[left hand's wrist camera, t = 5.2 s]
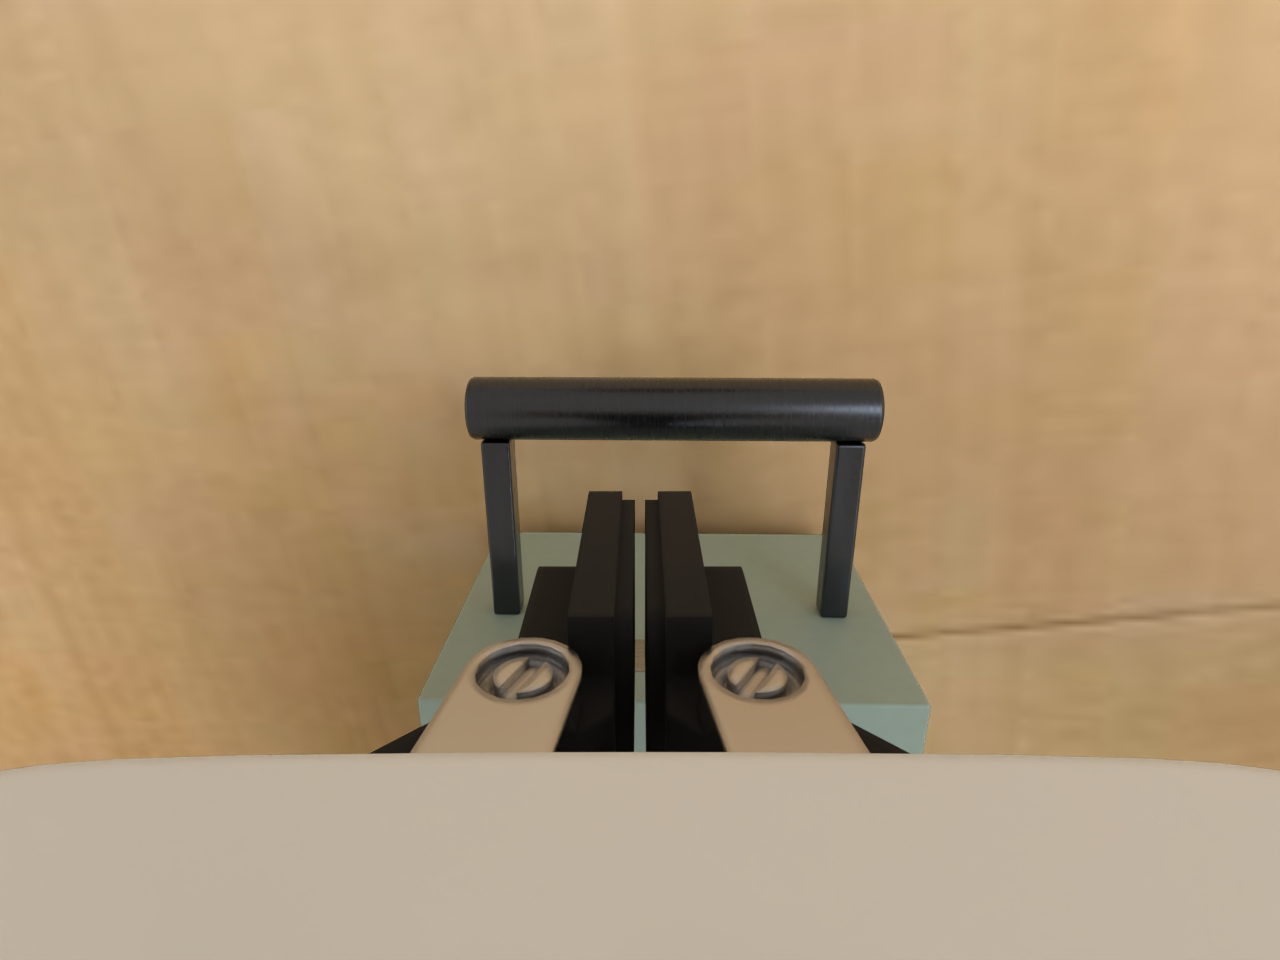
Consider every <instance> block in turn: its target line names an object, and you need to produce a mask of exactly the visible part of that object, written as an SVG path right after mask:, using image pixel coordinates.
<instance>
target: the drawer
mask: <svg viewBox="0 0 1280 960" xmlns="http://www.w3.org/2000/svg"><path fill="white" fill-rule="evenodd" d="M884 407H885V406H884V395H883V390H882V387H881V384H880V382H879V381H878V380H875V379H826V378H596V377H473V378H471V379H470V380H469V382H468V385H467V388H466V393H465V420H466V426H467V429H468V432H469V435H470V436H471V437H472V438H474V439H484V440H483V441H482V443H481V451H482V464H483V477H484V489H485V502H486V515H487V528H488V541H489V553H488V556H487V558H486V560H485V562H484V564H483V566H482V568H481V570H480V572H479V574H478V576H477V578H476V580H475V582H474V584H473V586H472V589H471V591H470V593H469V595H468V597H467V599H466V601H465V603H464V605H463V607H462V609H461V611H460V613H459V615H458V617H457V619H456V622H455V624H454V626H453V628H452V630H451V632H450V634H449V636H448V638H447V640H446V642H445V644H444V646H443V648H442V650H441V652H440V654H439V657H438V659H437V661H436V663H435V665H434V667H433V669H432V671H431V673H430V675H429V677H428V679H427V681H426V683H425V685H424V687H423V690H422V692H421V694H420V696H419V698H418V706H419V714H420V722H421V726H423V725H425V724H427V723H429V722H430V720H431V719H432V717H433V716H434V714H435V713H436V711H437V709H438V708H439V706H440V705H441V703H442V702H443V700H444V698H445V697H446V695H447V694H448V692H449V690H450V689H451V687H452V686H453V684H454V683H455V681H456V679H457V678H458V676H459V675H460V673H461V672H462V670H463V668H464V667H465V665H466V664H467V663H468V662H469V661H470V660H471V659H472V657H473V656H474V655H475V654H477V653H479V652H480V651H482V650H483V649H485V648H487V647H488V646H491V645H494V644H497V643H499V642H502V641H505V640H511V639H517V638H518V637H519V633H520V630H521V626H522V623H523V619H524V615H525V612H526V608H527V605H528V601H529V598H530V594H531V590H532V587H533V583H534V580H535V576H536V572H537V569H538V567H539V566H576V563H577V558H578V552H579V546H580V541H581V535H582V533H568V532H520V524H519V508H518V492H517V476H516V460H515V443H514V440H671V441H831V447H830V458H829V469H828V480H827V490H826V501H825V512H824V522H823V533H822V535H804V534H698V535H699V541H700V546H701V552H702V558H703V563H704V566H741V567H742V569H743V572H744V576H745V580H746V583H747V587H748V590H749V594H750V598H751V601H752V605H753V608H754V612H755V615H756V619H757V623H758V626H759V630H760V633H761V637H762V638H763V639H769V640H775V641H778V642H781V643H783V644H786V645H789V646H792V647H793V648H795V649H797V650H798V651H800V652H801V653H803V654H805V655H806V656H807V657H808V659H809V660H810V661H811V662H812V663H813V664H814V665H815V667H816V668H817V670H818V672H819V673H820V675H821V676H822V678H823V679H824V681H825V683H826V684H827V686H828V687H829V689H830V690H831V692H832V694H833V695H834V697H835V698H836V700H837V702H838V703H839V705H840V706H841V708H842V709H843V711H844V713H845V714H846V716H847V717H848V719H849V720H850V722H851V723H853V724H855V725H857V726H859V727H860V728H862V729H864V730H866V731H868V732H870V733H872V734H874V735H876V736H878V737H880V738H882V739H883V740H885V741H887V742H889V743H891V744H893V745H895V746H897V747H899V748H901V749H903V750H905V751H907V752H908V753H910V754H923V751H924V745H925V739H926V732H927V726H928V720H929V714H930V708H931V706H930V704H929V702H928V700H927V698H926V696H925V695H924V693H923V691H922V689H921V687H920V685H919V684H918V682H917V680H916V678H915V676H914V675H913V673H912V671H911V669H910V667H909V665H908V664H907V662H906V660H905V658H904V656H903V655H902V653H901V651H900V649H899V647H898V645H897V644H896V642H895V640H894V638H893V636H892V635H891V633H890V631H889V629H888V627H887V626H886V624H885V622H884V620H883V618H882V616H881V615H880V613H879V611H878V609H877V607H876V606H875V604H874V602H873V600H872V598H871V596H870V595H869V593H868V591H867V589H866V587H865V586H864V584H863V582H862V580H861V578H860V576H859V575H858V573H857V571H856V569H855V567H854V566H853V556H854V547H855V538H856V529H857V520H858V511H859V502H860V493H861V484H862V475H863V466H864V457H865V448H866V447H865V444H864V443H863V442H872V441H874V440H876V439H877V438H878V437H879V435H880V432H881V429H882V425H883V420H884ZM634 752H646V721H645V533H635V721H634Z"/></svg>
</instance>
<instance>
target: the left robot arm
mask: <svg viewBox="0 0 1280 960" xmlns="http://www.w3.org/2000/svg"><path fill="white" fill-rule="evenodd" d="M634 721H635V500H622V491H589V495H588V501H587V506H586V512H585V518H584V524H583V529H582V535H581V541H580V546H579V552H578V558H577V563H576V566H539V567H538V569H537V572H536V576H535V580H534V583H533V587H532V590H531V594H530V598H529V601H528V605H527V608H526V612H525V615H524V619H523V623H522V626H521V630H520V633H519V637H518V638H517V639H511V640H505V641H502V642H499V643H497V644H494V645H491V646H488V647H487V648H485V649H483V650H482V651H480V652H479V653H477V654H475V655H474V656H473V657H472V659H471V660H470V661H469V662H468V663H467V664H466V665H465V667H464V668H463V670H462V672H461V673H460V675H459V676H458V678H457V679H456V681H455V683H454V684H453V686H452V687H451V689H450V690H449V692H448V694H447V695H446V697H445V698H444V700H443V702H442V703H441V705H440V706H439V708H438V709H437V711H436V713H435V714H434V716H433V717H432V719H431V720H430V722H429V723H427V724H425V725H423V726H421V727H420V728H418V729H416V730H414V731H412V732H410V733H408V734H406V735H404V736H402V737H400V738H398V739H397V740H395V741H393V742H391V743H389V744H387V745H385V746H383V747H381V748H379V749H377V750H375V751H373V752H372V753H370V754H302V755H229V756H197V757H166V758H134V759H111V760H97V761H83V762H69V763H56V764H45V765H37V766H30V767H23V768H15V769H8V770H1V771H0V960H1280V771H1279V770H1274V769H1266V768H1258V767H1250V766H1242V765H1234V764H1225V763H1213V762H1198V761H1182V760H1166V759H1151V758H1117V757H1080V756H1044V755H994V754H910V753H908V752H907V751H905V750H903V749H901V748H899V747H897V746H895V745H893V744H891V743H889V742H887V741H885V740H883V739H882V738H880V737H878V736H876V735H874V734H872V733H870V732H868V731H866V730H864V729H862V728H860V727H859V726H857V725H855V724H853V723H851V722H850V720H849V719H848V717H847V716H846V714H845V713H844V711H843V709H842V708H841V706H840V705H839V703H838V702H837V700H836V698H835V697H834V695H833V694H832V692H831V690H830V689H829V687H828V686H827V684H826V683H825V681H824V679H823V678H822V676H821V675H820V673H819V672H818V670H817V668H816V667H815V665H814V664H813V663H812V662H811V661H810V660H809V659H808V657H807V656H806V655H805V654H803V653H801V652H800V651H798V650H797V649H795V648H793V647H792V646H789V645H786V644H783V643H781V642H778V641H775V640H769V639H763V638H762V637H761V633H760V630H759V626H758V623H757V619H756V615H755V612H754V608H753V605H752V601H751V598H750V594H749V590H748V587H747V583H746V580H745V576H744V572H743V569H742V567H741V566H704V563H703V558H702V552H701V546H700V541H699V535H698V529H697V524H696V518H695V512H694V506H693V501H692V495H691V491H658V500H645V721H646V752H634Z"/></svg>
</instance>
